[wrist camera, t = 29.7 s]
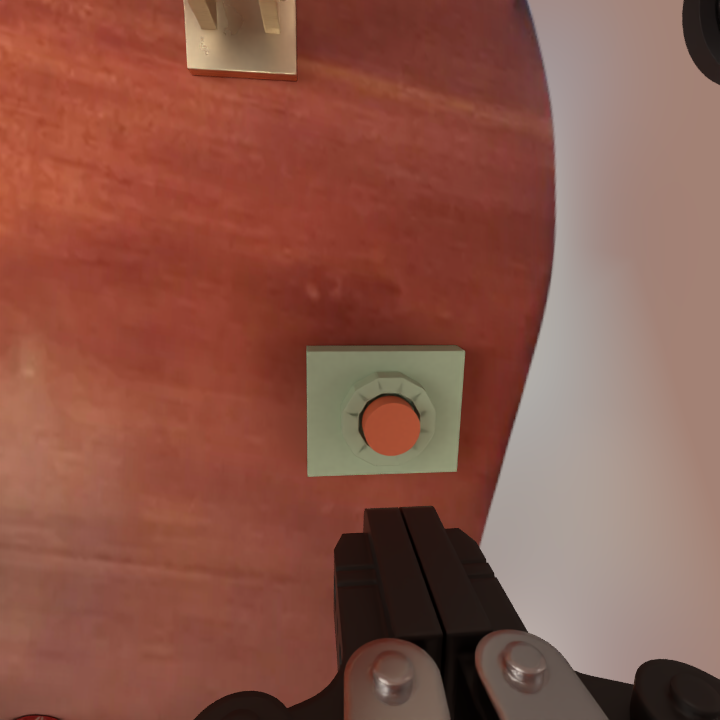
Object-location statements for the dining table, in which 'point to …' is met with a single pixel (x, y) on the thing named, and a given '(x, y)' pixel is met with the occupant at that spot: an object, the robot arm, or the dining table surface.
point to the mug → (36, 718)
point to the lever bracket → (241, 38)
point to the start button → (390, 425)
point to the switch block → (374, 380)
